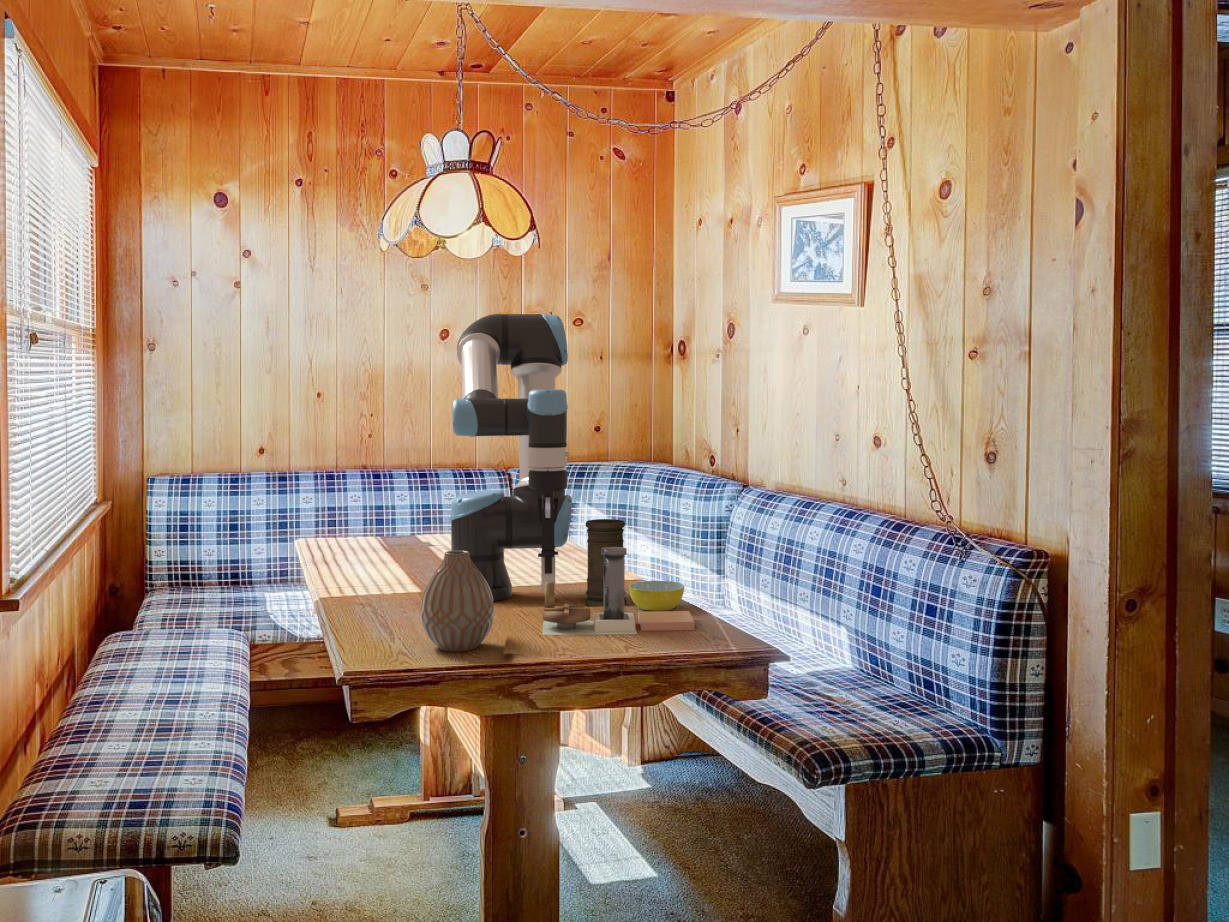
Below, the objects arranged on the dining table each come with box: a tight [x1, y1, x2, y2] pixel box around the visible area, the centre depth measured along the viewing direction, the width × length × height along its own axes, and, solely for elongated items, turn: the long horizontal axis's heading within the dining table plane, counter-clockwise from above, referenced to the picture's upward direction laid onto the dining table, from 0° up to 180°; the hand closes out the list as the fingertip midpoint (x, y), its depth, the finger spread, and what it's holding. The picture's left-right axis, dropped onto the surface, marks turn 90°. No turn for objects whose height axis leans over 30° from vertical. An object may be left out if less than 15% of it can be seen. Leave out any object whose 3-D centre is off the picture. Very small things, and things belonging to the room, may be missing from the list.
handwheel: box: [542, 582, 591, 623], centre depth 226 cm, size 9×9×6 cm
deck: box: [541, 612, 638, 636], centre depth 226 cm, size 18×12×4 cm
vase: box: [420, 550, 495, 653], centre depth 216 cm, size 13×13×18 cm
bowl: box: [628, 580, 685, 612], centre depth 245 cm, size 11×12×6 cm
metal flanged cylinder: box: [601, 546, 628, 620], centre depth 226 cm, size 5×5×15 cm
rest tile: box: [637, 610, 695, 632], centre depth 229 cm, size 10×10×3 cm
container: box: [584, 518, 627, 608], centre depth 256 cm, size 9×9×18 cm
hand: (548, 589), depth 233 cm, fingers closed
